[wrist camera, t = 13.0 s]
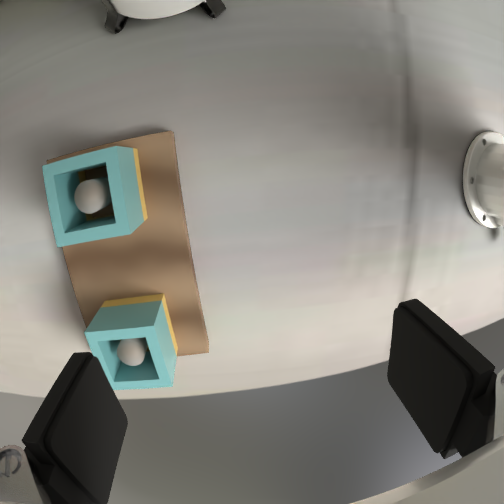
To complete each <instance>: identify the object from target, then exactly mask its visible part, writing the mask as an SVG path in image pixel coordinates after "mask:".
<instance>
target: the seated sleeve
mask: <svg viewBox="0 0 504 504" xmlns="http://www.w3.org/2000/svg"><path fill="white" fill-rule="evenodd" d="M104 166H107V173H108V180H109V186H110V192H111V198H112V204H113V210H114V214H109V215H104V216H99V217H94V218H93V217H92V213H91V214H87V213H84V212H82V211H81V210H79V209H78V207H77V206H76V203H75V199H74V195H75V190H76V188H77V187H78V185H79V184H80V183H82V182H83V181H86V176H85V171H87V170H91V169H95V168H100V167H104ZM42 169H43V176H44V183H45V189H46V195H47V201H48V206H49V212H50V217H51V222H52V226H53V231H54V235H55V240H56V244H57V247H62V246H67V245H73V244H78V243H83V242H89V241H94V240H100V239H106V238H111V237H117V236H123V235H129V234H131V233H133V232H134V231H135V230H136V229H137V228H138V227H139V226H140V225H141V224H142V223H143V222H144V221H145V220H146V219H147V218H148V216H147V210H146V204H145V198H144V192H143V186H142V179H141V172H140V165H139V158H138V150H137V149H136V148H129V147H122V146H114V147H109V148H105V149H101V150H97V151H93V152H89V153H85V154H82V155H78V156H74V157H71V158H67V159H64V160H60V161H57V162H53V163H50V164H47V165H44V166H42Z"/></svg>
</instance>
